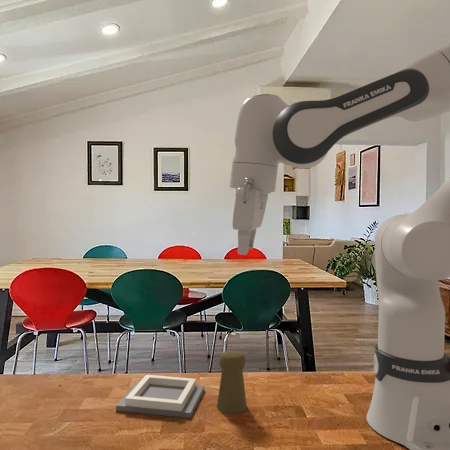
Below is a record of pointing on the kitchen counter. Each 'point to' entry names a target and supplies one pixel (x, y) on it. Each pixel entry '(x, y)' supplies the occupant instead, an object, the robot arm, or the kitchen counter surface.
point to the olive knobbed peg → (232, 383)
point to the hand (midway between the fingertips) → (245, 251)
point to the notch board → (162, 396)
